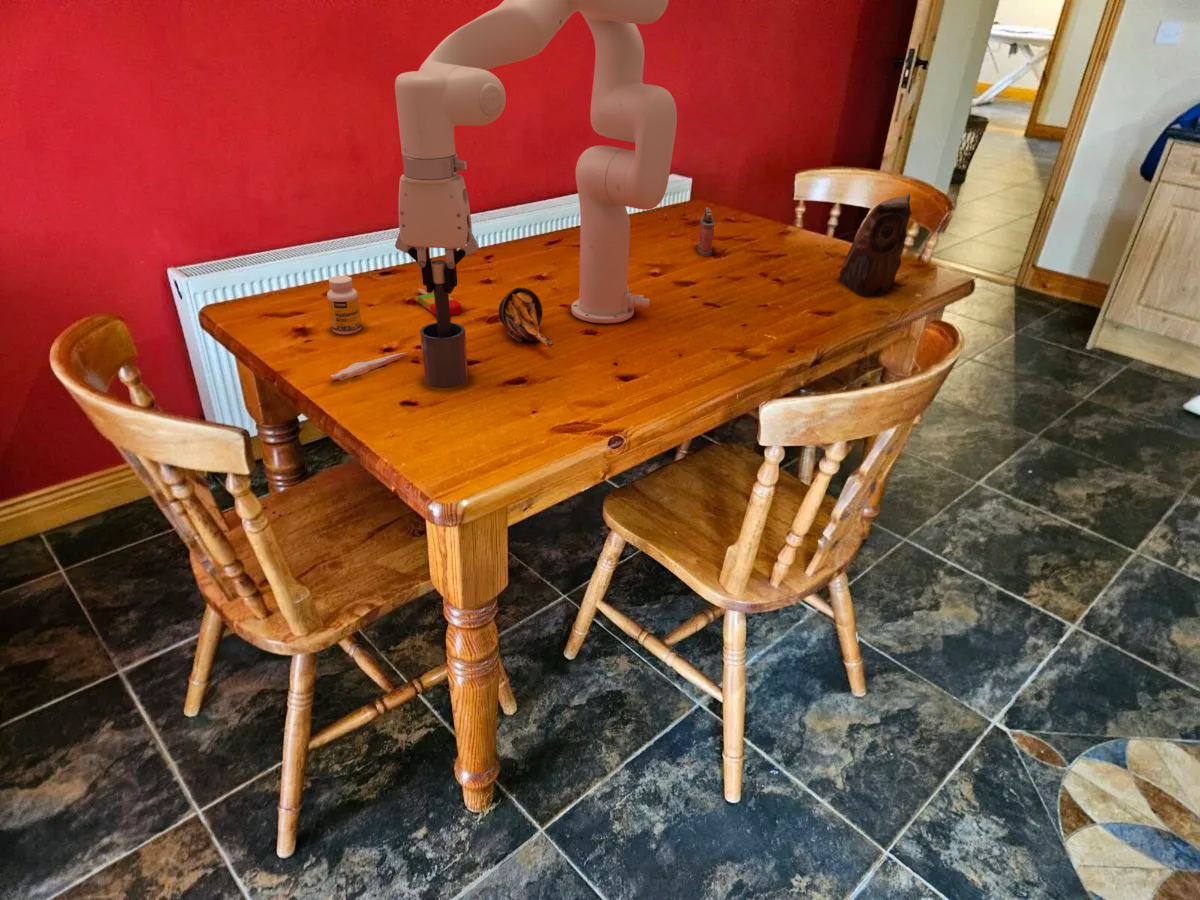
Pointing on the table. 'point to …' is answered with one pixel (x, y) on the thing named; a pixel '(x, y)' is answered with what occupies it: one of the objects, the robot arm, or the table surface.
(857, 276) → the owl
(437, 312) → the marker pen
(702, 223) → the lighter
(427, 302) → the popsicle
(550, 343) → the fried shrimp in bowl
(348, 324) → the supplement bottle
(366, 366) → the pale pink tapered rod
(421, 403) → the table surface
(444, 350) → the pen cup
